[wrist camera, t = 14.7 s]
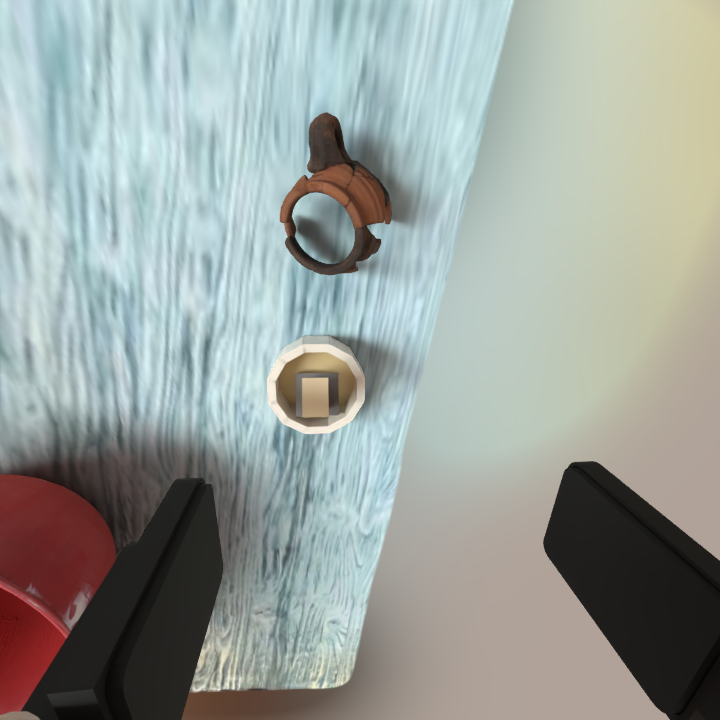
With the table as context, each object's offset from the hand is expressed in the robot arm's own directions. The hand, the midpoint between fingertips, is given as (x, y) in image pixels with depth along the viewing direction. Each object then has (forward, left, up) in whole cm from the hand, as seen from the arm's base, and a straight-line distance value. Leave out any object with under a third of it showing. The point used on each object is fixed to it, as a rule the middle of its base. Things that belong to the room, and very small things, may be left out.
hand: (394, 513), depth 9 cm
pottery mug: (-12, +1, -29) cm, 31 cm away
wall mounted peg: (+8, -2, -26) cm, 27 cm away
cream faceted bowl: (+7, -2, -28) cm, 28 cm away
